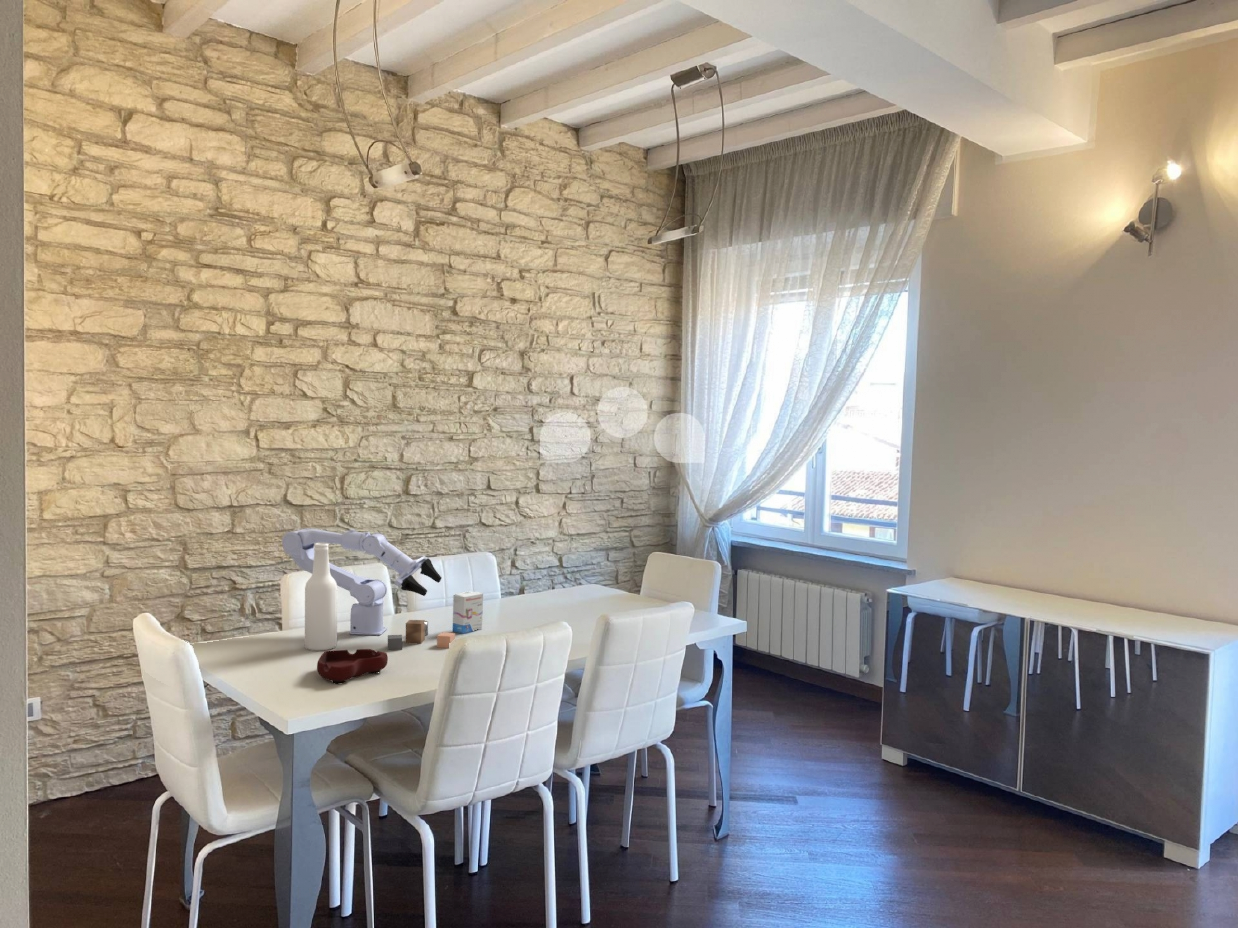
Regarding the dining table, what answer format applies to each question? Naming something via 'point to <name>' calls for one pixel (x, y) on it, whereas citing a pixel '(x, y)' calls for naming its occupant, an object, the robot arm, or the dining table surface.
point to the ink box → (467, 611)
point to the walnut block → (415, 631)
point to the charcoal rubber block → (394, 642)
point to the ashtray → (350, 664)
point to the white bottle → (321, 603)
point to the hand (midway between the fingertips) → (433, 586)
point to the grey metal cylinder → (426, 628)
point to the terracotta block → (445, 639)
